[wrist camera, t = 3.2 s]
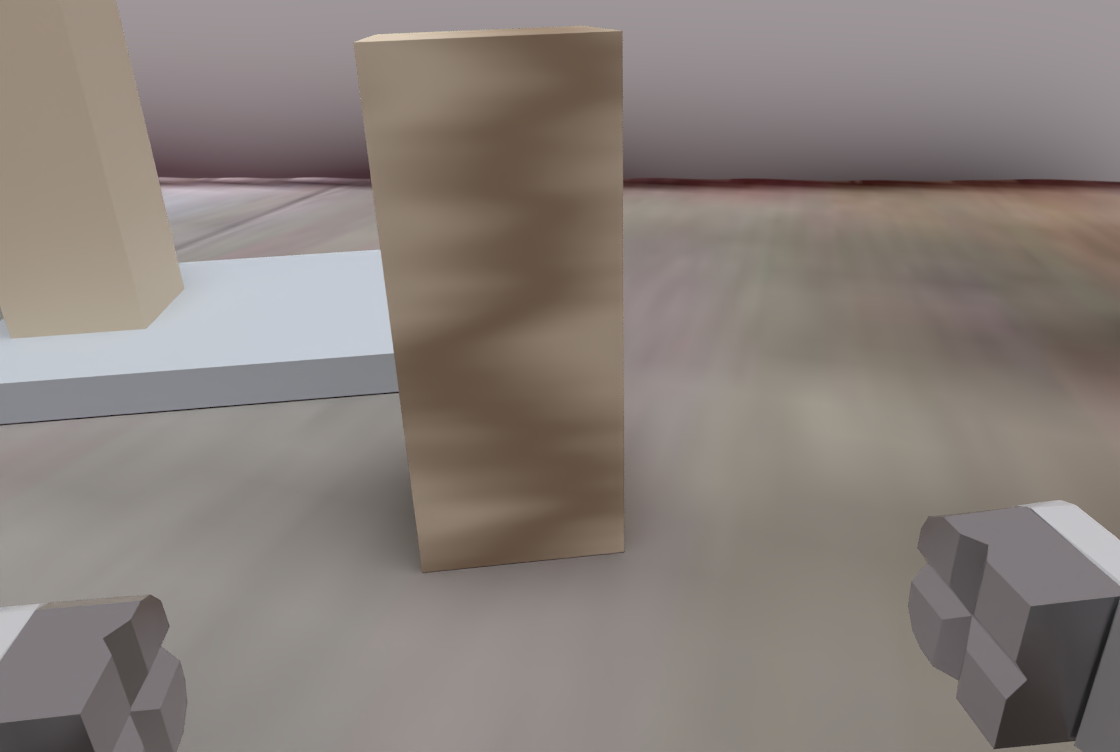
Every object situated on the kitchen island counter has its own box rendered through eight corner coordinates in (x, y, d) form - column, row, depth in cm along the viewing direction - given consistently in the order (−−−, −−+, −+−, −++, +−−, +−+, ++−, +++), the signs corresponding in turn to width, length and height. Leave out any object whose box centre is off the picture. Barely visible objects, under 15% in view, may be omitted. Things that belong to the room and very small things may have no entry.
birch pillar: (422, 572, 20) (353, 42, 15) (428, 468, 24) (376, 34, 19) (624, 552, 20) (622, 31, 15) (593, 452, 25) (583, 25, 20)
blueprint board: (-87, 431, 28) (-267, -6, 22) (82, 298, 40) (-5, -1, 35) (608, 374, 30) (603, -36, 24) (562, 266, 43) (552, -21, 37)
